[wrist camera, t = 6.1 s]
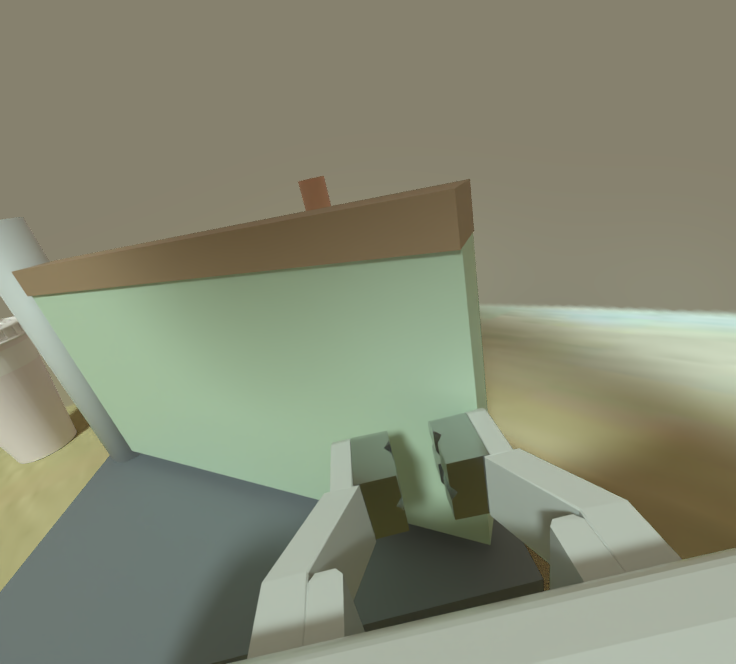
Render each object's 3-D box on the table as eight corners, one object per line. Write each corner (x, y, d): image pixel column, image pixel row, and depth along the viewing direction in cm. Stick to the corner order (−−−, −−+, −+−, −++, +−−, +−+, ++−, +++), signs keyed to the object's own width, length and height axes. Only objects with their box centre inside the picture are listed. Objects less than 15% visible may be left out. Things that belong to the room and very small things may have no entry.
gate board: (-96, 763, 11) (-932, 343, 5) (186, 376, 33) (104, 212, 27) (543, 601, 11) (545, 9, 5) (400, 325, 33) (367, 151, 27)
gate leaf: (129, 452, 20) (11, 271, 16) (157, 431, 22) (55, 260, 17) (489, 549, 11) (454, 188, 7) (495, 502, 13) (470, 178, 8)
